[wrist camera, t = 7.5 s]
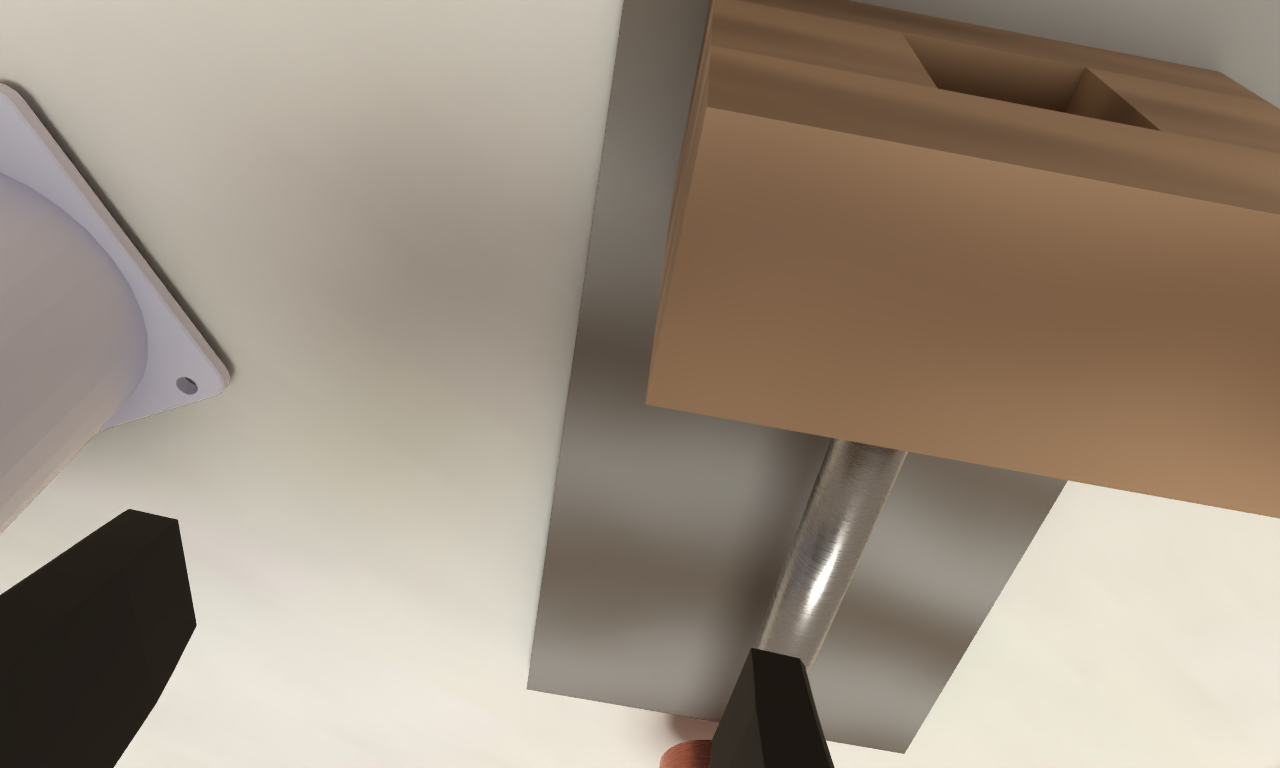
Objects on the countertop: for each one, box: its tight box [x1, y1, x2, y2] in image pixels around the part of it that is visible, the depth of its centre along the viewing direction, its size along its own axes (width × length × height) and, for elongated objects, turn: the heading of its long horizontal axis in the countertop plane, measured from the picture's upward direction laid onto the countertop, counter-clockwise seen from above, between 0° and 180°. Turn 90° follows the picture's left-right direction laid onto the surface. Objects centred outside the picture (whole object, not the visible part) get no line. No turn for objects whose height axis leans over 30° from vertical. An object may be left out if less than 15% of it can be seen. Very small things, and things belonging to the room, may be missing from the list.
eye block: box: [527, 0, 1280, 754], centre depth 18 cm, size 24×12×8 cm, turn 171°
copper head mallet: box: [660, 438, 908, 768], centre depth 21 cm, size 18×3×5 cm, turn 171°
